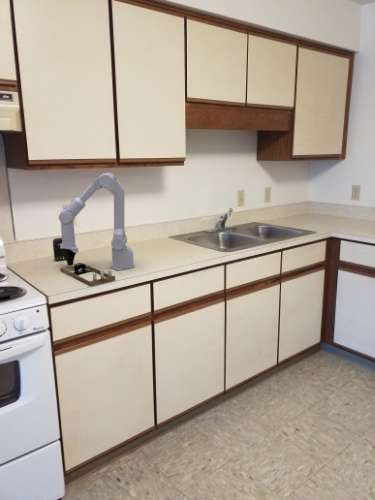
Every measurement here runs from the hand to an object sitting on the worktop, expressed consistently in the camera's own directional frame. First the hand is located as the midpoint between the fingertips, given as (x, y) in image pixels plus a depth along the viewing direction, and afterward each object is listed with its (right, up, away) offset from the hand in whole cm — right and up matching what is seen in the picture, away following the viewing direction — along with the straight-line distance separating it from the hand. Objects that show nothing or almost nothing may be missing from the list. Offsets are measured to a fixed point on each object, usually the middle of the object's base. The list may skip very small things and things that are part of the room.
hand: (70, 264), depth 184 cm
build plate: (+6, -4, -6) cm, 10 cm away
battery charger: (-9, +2, +14) cm, 17 cm away
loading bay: (+10, -4, -11) cm, 16 cm away
